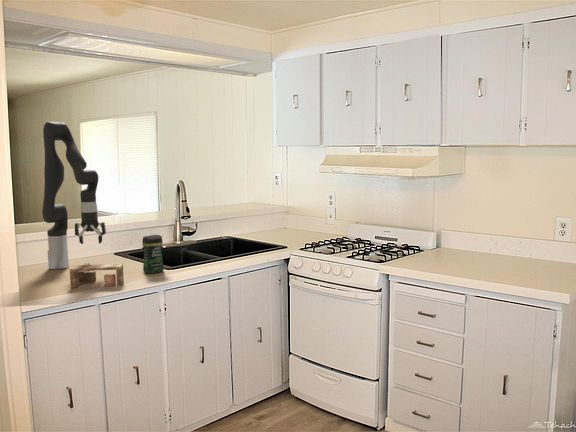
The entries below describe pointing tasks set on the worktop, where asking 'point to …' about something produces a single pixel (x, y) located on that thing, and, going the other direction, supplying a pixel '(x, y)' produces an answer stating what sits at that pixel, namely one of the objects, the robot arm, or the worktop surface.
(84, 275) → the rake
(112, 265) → the shelf
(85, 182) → the robot arm
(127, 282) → the worktop surface
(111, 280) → the reddish brown block
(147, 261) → the coffee jar
